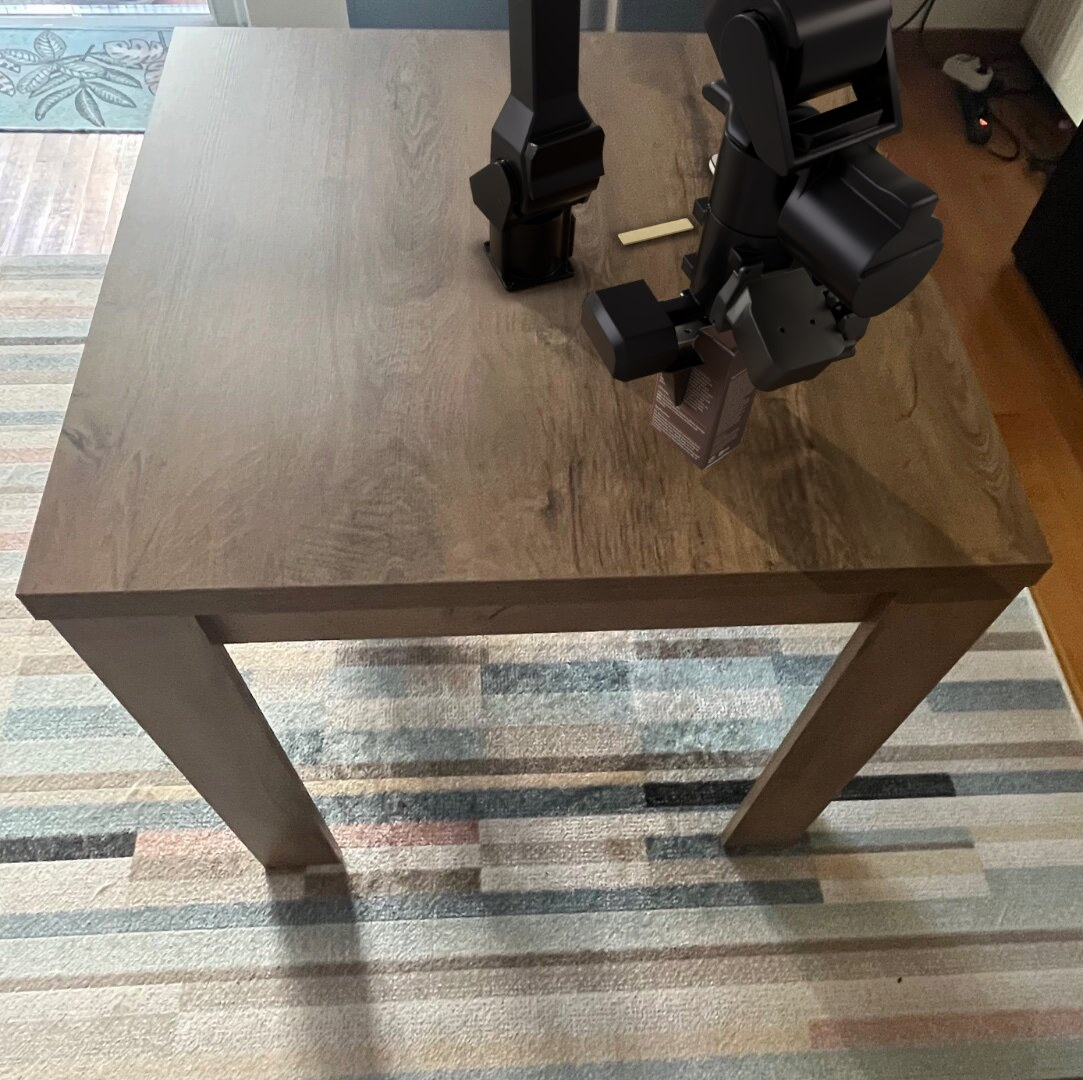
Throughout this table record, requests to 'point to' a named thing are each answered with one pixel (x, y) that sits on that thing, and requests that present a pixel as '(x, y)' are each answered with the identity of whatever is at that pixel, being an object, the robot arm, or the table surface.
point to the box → (707, 402)
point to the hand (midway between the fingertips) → (707, 392)
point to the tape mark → (655, 231)
